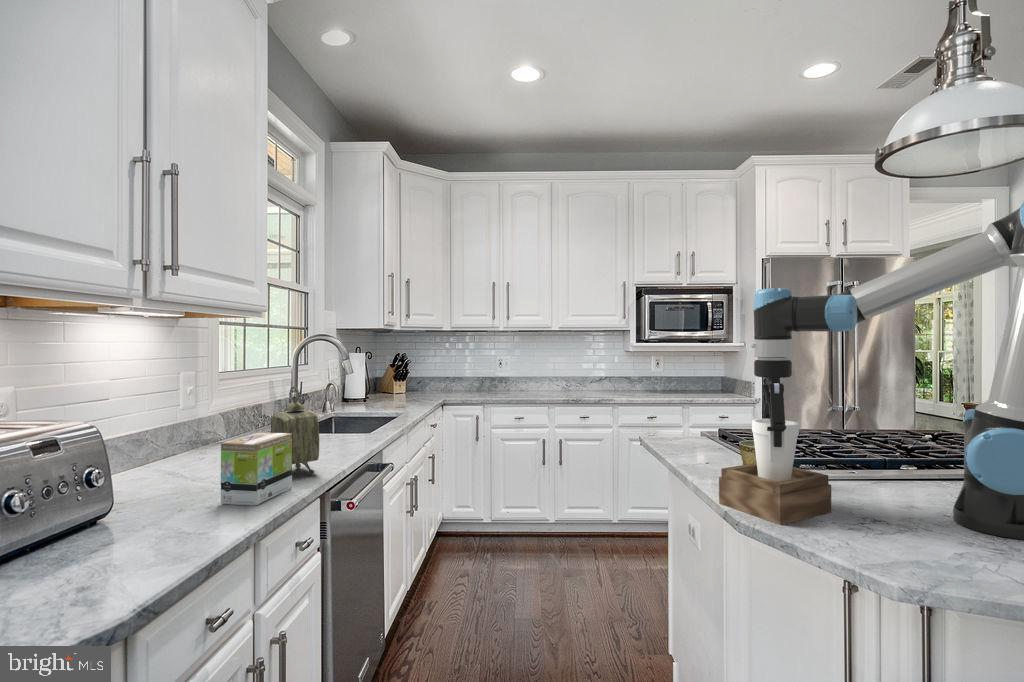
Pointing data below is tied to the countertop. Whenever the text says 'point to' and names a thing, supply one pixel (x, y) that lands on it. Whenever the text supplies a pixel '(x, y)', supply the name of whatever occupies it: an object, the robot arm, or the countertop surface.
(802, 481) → the wooden box
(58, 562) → the countertop surface
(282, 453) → the tea box
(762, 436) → the foam cup
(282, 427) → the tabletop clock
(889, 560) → the countertop surface
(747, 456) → the ceramic cup
